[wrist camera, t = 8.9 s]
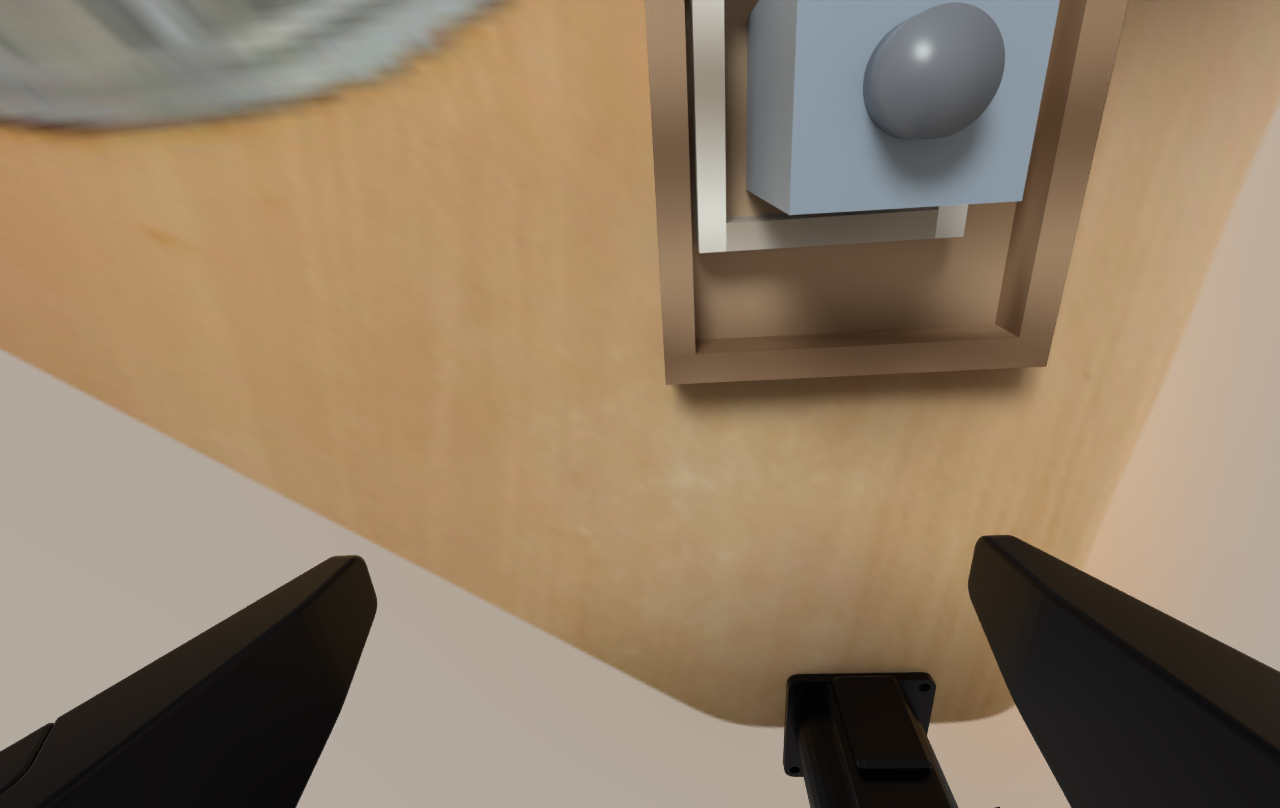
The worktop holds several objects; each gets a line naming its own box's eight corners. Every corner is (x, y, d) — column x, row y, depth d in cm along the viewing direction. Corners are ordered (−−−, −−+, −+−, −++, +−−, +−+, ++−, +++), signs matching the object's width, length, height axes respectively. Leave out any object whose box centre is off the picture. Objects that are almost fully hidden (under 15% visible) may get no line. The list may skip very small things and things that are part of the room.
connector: (894, 180, 18) (1052, 206, 11) (745, 189, 18) (799, 220, 11) (913, 4, 16) (1118, -109, 9) (747, 17, 16) (813, -82, 9)
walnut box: (1012, 346, 20) (1047, 367, 18) (666, 363, 21) (665, 385, 19) (1106, -135, 15) (1169, -174, 13) (641, -89, 16) (638, -120, 14)
